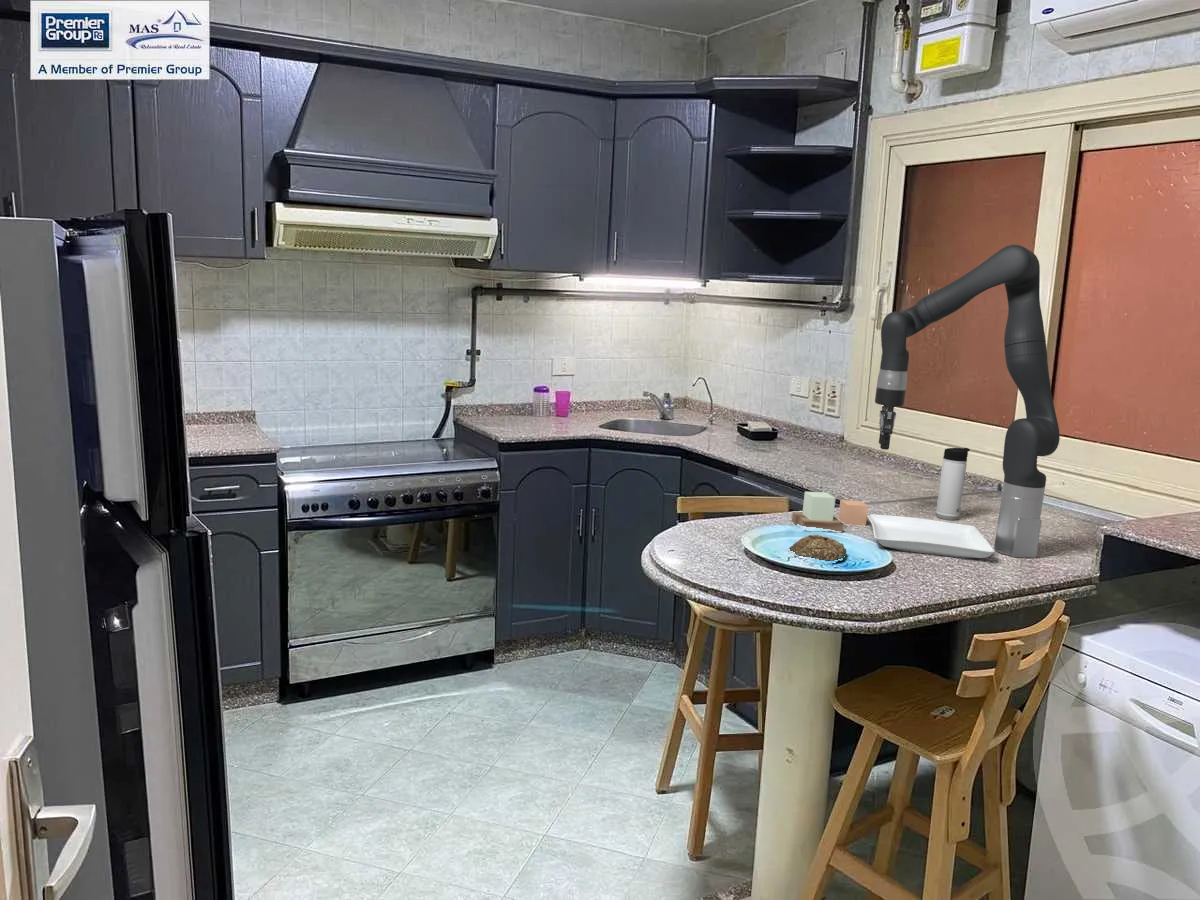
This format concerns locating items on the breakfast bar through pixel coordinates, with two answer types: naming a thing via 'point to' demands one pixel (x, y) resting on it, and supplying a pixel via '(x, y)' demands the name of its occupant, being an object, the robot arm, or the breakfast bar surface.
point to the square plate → (930, 536)
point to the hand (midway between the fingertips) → (883, 446)
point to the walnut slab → (816, 522)
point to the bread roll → (819, 548)
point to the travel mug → (951, 483)
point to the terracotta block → (853, 512)
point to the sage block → (818, 506)
